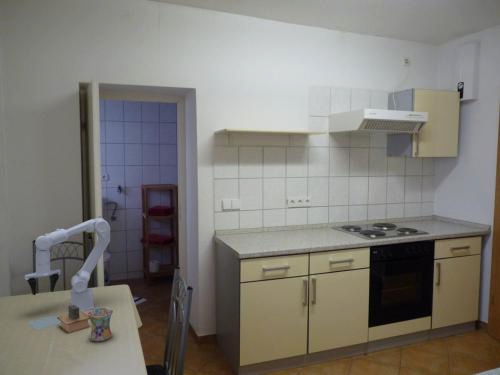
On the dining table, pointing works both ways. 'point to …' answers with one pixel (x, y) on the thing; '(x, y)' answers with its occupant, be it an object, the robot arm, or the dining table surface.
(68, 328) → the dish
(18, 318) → the dining table surface
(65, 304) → the dining table surface
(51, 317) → the mat
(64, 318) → the lid
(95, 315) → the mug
